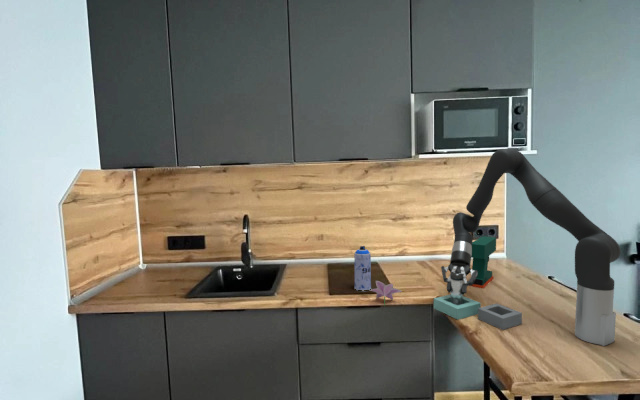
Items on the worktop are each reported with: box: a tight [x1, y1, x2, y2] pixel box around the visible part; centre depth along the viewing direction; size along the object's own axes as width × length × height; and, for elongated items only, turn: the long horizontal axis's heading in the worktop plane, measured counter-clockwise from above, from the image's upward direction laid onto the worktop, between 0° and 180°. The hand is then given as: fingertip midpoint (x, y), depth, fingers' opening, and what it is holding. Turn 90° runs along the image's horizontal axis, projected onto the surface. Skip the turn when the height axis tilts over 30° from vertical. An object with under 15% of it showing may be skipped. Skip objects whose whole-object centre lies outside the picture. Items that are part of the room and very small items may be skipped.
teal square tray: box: [433, 293, 482, 320], centre depth 134 cm, size 12×12×4 cm
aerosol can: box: [353, 245, 372, 292], centre depth 161 cm, size 8×8×20 cm
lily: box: [369, 280, 403, 307], centre depth 144 cm, size 12×12×10 cm
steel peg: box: [449, 271, 464, 305], centre depth 134 cm, size 5×5×13 cm
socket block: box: [477, 302, 523, 331], centre depth 124 cm, size 10×10×4 cm
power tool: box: [468, 235, 497, 289], centre depth 172 cm, size 32×7×20 cm, turn 141°
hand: (456, 292), depth 132 cm, fingers closed on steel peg, 4 cm apart
